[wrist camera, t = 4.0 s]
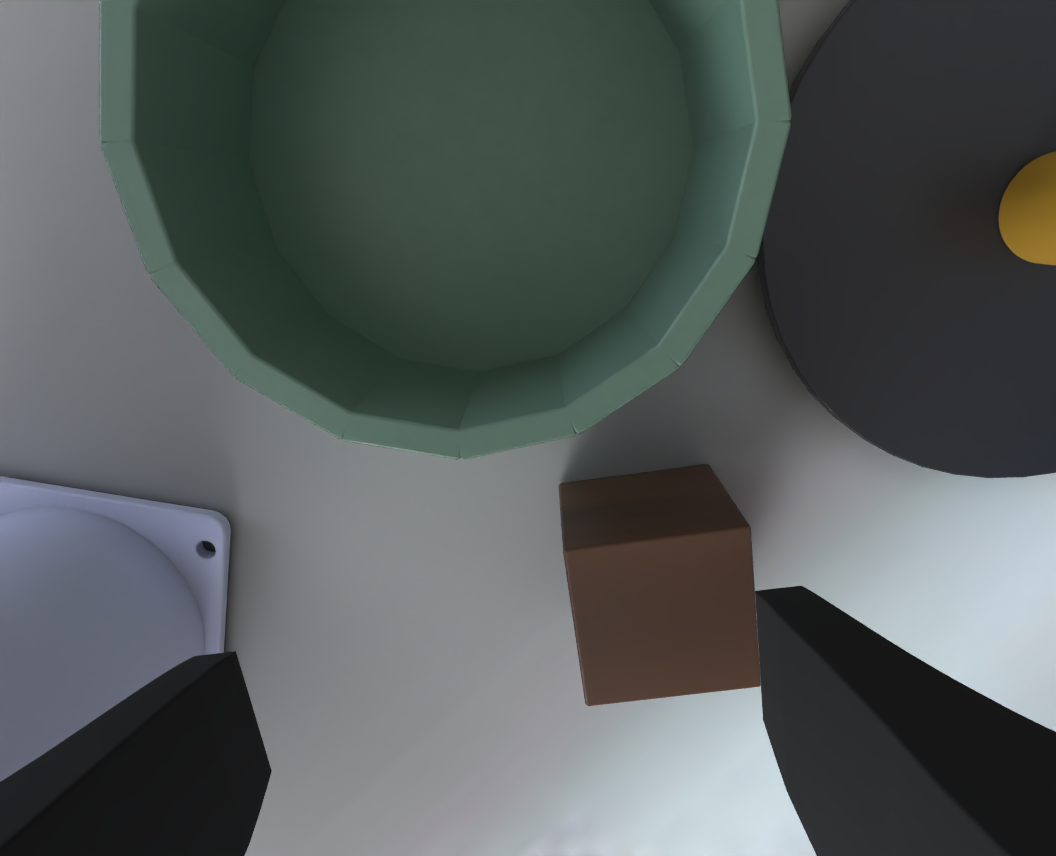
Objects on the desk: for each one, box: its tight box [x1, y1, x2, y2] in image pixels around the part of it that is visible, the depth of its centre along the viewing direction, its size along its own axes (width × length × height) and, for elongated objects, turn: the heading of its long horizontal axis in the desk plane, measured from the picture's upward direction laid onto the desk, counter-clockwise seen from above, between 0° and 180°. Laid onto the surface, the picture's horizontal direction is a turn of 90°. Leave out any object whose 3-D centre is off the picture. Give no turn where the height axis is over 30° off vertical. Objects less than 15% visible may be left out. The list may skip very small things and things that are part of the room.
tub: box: [99, 0, 791, 459], centre depth 15 cm, size 11×11×5 cm
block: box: [559, 465, 761, 706], centre depth 18 cm, size 4×4×4 cm
